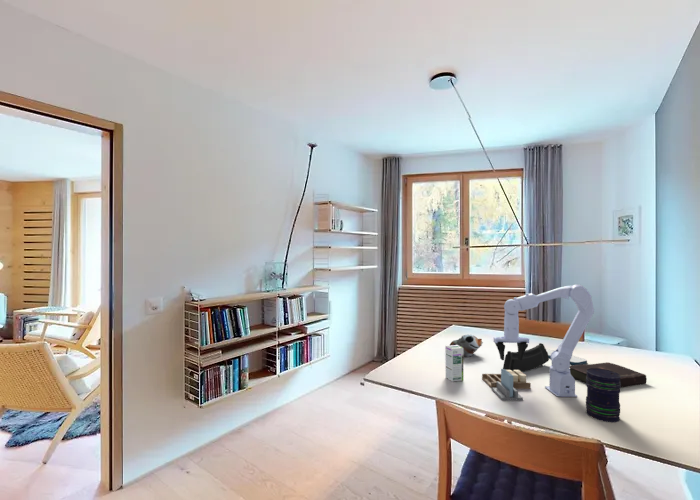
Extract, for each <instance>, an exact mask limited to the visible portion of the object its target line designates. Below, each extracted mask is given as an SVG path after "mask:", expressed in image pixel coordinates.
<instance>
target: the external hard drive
mask: <svg viewBox="0 0 700 500" xmlns="http://www.w3.org/2000/svg"><path fill="white" fill-rule="evenodd" d="M546 351H547V352H548V357H549V360H551V354H552V352H554V351H555V349H549V348H546ZM572 365H588V360H587V359H586V358H582V357H579V356H576V355H572V357H571V359H570V366H572Z"/></svg>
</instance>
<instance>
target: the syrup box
mask: <svg viewBox="0 0 700 500" xmlns="http://www.w3.org/2000/svg"><path fill="white" fill-rule="evenodd" d="M444 355H445V362H444V363H445V378H446V379H447V378H448V379H447V380H449V381H450V380H451V381H450V382H453V383H454V382H460V381H461V382H462V381H464V357H463V347H461V346H459V345H450V344H449V345H445V353H444Z"/></svg>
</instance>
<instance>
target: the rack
mask: <svg viewBox="0 0 700 500" xmlns="http://www.w3.org/2000/svg"><path fill="white" fill-rule="evenodd" d="M481 379H482V380H483V381H484V382H485V384H487V386H489V387H490V389H492V388H497V381H499V382H500V383H501V373H481ZM531 386H532V385H531V382H526V383H518V382H513V387H514V388H515V389H516V390H517V389H519V390H531V389H532V388H531Z"/></svg>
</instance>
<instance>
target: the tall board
mask: <svg viewBox="0 0 700 500" xmlns="http://www.w3.org/2000/svg"><path fill="white" fill-rule="evenodd" d="M500 374H501V384H502V385H503V386H505V387H506V388H507V389H508V390H509V391H510V397H513V375H512V374H510V373H509V372H508V371H507V370H505V369H503V368H500Z"/></svg>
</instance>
